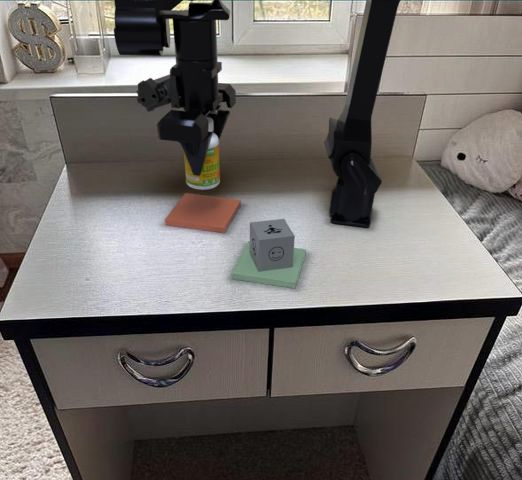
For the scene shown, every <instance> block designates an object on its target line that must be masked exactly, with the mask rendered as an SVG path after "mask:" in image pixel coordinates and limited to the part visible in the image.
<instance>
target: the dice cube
mask: <svg viewBox="0 0 522 480" xmlns="http://www.w3.org/2000/svg"><path fill="white" fill-rule="evenodd" d="M295 237H296V235H295V233H294V232H293V231H292V229H291V227H290V226H289V224H288V223H287V221H286V219H285V218H278V219H269V220H260V221H259V220H258V221H251V222H249V241H250V255H251V257H252V259H253V261H254V264H255V266H256V268H257V270H258V272H260V271H268V270H276V269H283V268H291V267H292V266H293V253H294V248H295V240H296V239H295Z"/></svg>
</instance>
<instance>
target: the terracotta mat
mask: <svg viewBox="0 0 522 480" xmlns="http://www.w3.org/2000/svg"><path fill="white" fill-rule="evenodd" d="M241 206H242V200H241V199H234V198H226V197H220V196H213V195H211V196H210V195H204V194H195V193H189V192H188V193H187V192H185V193H184V194H183V195H182V197H181V198H180V199H179V200H178V202H177V203H176V205H175V206H174V207H173V208H172V210H170V212H169V213H168V215H167V216H166V217H165V219H164V224H165V226H171V227H178V228H185V229H192V230H193V229H194V230H200V231H207V232H213V233H222V234H226V232H227V231H228V229H229V227H230V226H231V223H232V221H233V220H234V218H235V216H236V215H237V213H238V211H239V209H240V208H241Z"/></svg>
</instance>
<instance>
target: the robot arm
mask: <svg viewBox="0 0 522 480" xmlns="http://www.w3.org/2000/svg"><path fill="white" fill-rule="evenodd" d="M113 1H114V28H113V36H114V42H115V46H116V50H117V52H118V55H119V56H142V57H143V56H145V57H163V55H164V50H165V49H164V48H167V49H170V48H171V27H170V26H171V25H170V20H172V28H173V29H172V31H173V42H174V53H175V54H174V56H175V64H173V65H172V66H171V68H170V69H169V74H167V75H163V76H161V77H158V78H155V79H153V77H149V78H147V79H146V80H141V81H140V82H138V83H137V90H136V91H135V92H136V94H137V98H136V101H137V103H138V104H140V105H141V106H142V107H144V108H145V109H146V112H153V111H154V110H155V109H157V108H160V107H163V106H166V105H169V104H170V105H171V107H170V108H171V109H170V110H169V111H168V112H167V113H166V114H165V115H164V116H162V117H161V119H159V120H158V122H157V123H156V129H157V137H158V139H159V140H161V141H169V142H177V143H179V145H180V146H181V148H182V149H183V153H184V152H185V155H186V157H187V160H188V163H189V165H190V168H191V170H192V173H193V175H196V176H200V175H201V172H202V169H203V166H204V162H205V159H206V155H207V151H208V148H209V145H210V141H211V138H212V134H213V133H215V134H216V135H217V137H218V139H219V140H221V137H222V134H223V131H224V129H225V127H226V124H227V122H228V119H229V116H230V114H231V111H230V110H228V109H222V105H221V103H225V105H226V106H227V108H229V109H232V108H233V107H234V106H235V105H236V104H237V99H236V98H237V95H236V94H237V93H236V89H235V88H234V87H233V86H232V85H231V84H230V83H224V82H223V83H222V82H219V73H220V72H222V70H223V62H222V61H218V34H217V21H229V20H230V17H231V10H230V8H228V7H227V6H226V5H225V4H224V2H223V1H222V0H212V1H211V2H193V1H195V0H187V1H190V2H188V7H187V8H188V9H179V10H178V9H177V10H175V8H176V7H177V6H178V5H179V4H181V3H182V2H184V0H113ZM401 1H402V0H365V5H364V9H363V15H362V19H361V24H360V30H359V34H358V38H357V44H356V48H355V53H354V57H353V58H354V59H353V64H352V68H351V69H352V70H351V73H350V78H349V83H348V88H347V94H346V97H345V101H344V102H345V103H344V106H343V109H342V111H341V113H340V115H339V117H338V118H334V117H329V119H328V132H327V136H326V138H325V140H324V141H323V143H324V147H325V150H326V154H327V157H328V159H329V161H330V165H331V168H332V171H333V172H334V173H335V175H336V177H337V180H336V184H334V185H333V186H332V190H331V195H330V204H329V211H328V213H329V215H331V216H330V223H331V224H336V225H337V224H339V225H344V226H345V225H347V226H352V227H361V228H370V227H371V222H372V216H373V210H374V209H373V207H374V201H375V196H376V193H377V192H378V190H379V188H380V187H381V185H382V183H383V182H382V181H383V180H382V178H381V176H380V174H379V172H378V169H377V167H376V165H375V162H374V160H373V159H372V144H373V140H372V139H373V138H372V137H373V136H372V135H373V134H372V133H373V132H372V131H373V130H372V119H373V118H372V117H373V113H374V109H375V105H376V100H377V96H378V91H379V87H380V83H381V79H382V75H383V71H384V67H385V62H386V59H387V55H388V49H389V46H390V41H391V37H392V33H393V29H394V25H395V21H396V17H397V14H398V8H399V5H400V3H401ZM181 108H182V109H183V110H178V109H181ZM206 117H210V118H212V119H213V127H214V128H213V129H214V130H213V131H212V132H209V131H208V129H209V124H208V119H207V118H206Z"/></svg>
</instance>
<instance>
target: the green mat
mask: <svg viewBox="0 0 522 480" xmlns="http://www.w3.org/2000/svg"><path fill="white" fill-rule="evenodd" d="M306 256H307V249H305V248H299V247H294V253H293V266H292V267H291V268H283V269H276V270H268V271H260V272H258V270H257V268H256V266H255V264H254V261H253V259H252V257H251V255H250V240H247V242H246V244H245V246H244V249H243V250H242V253H240V256H239V258H238V260H237V262H236V264H235V267H234V268H233V270H232V273H231V280H232V279H233V280H237V281H238V280H239V281H243V282H244V281H245V282H250V283H257V284H264V285H271V286H275V287H276V286H277V287H282V288H283V287H284V288H290V289H296V287H297V284H298V282H299V281H298V280H299V278H300V274H301V271H302V268H303V265H304V262H305V259H306Z"/></svg>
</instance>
